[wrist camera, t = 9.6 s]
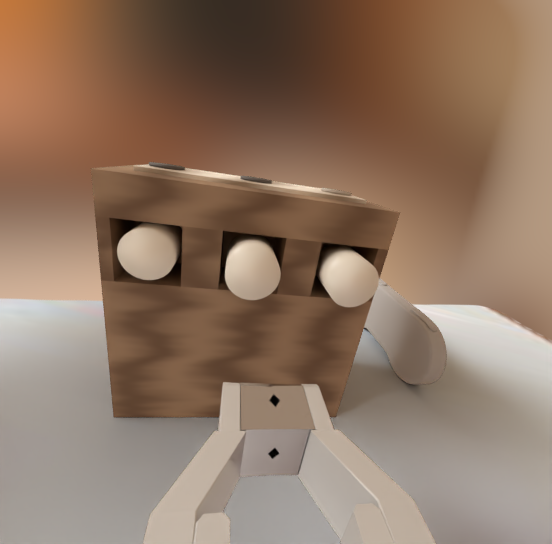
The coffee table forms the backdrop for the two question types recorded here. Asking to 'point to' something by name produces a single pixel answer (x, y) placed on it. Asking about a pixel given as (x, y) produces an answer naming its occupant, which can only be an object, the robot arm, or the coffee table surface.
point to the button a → (150, 250)
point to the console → (218, 297)
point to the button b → (346, 275)
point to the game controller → (406, 337)
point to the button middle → (251, 267)
